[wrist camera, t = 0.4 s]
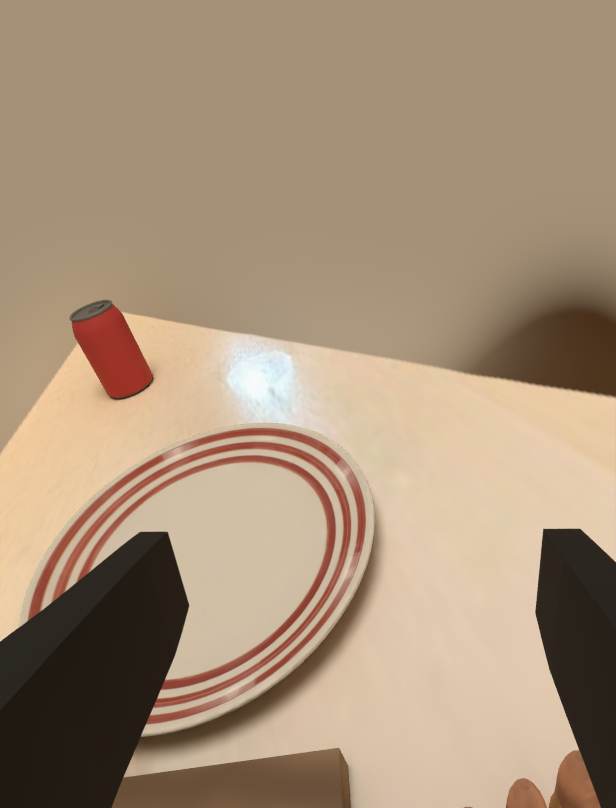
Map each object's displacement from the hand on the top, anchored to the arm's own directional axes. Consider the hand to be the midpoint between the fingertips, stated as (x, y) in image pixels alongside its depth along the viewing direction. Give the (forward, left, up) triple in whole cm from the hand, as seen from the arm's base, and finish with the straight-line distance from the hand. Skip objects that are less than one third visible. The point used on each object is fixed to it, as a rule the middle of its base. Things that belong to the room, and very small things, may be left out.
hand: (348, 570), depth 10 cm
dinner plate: (+21, +14, -22) cm, 33 cm away
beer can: (+55, +31, -21) cm, 66 cm away
